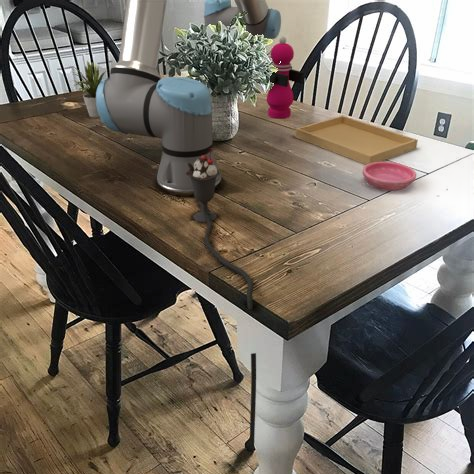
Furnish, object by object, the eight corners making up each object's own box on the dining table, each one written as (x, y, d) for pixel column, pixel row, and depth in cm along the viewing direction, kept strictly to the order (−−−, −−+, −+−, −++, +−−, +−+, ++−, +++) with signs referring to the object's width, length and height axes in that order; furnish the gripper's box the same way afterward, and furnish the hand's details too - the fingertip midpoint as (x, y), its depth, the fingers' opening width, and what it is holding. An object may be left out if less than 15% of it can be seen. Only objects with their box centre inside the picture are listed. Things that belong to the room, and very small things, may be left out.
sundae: (227, 216, 117) (226, 148, 108) (204, 227, 113) (201, 157, 104) (205, 207, 121) (203, 140, 112) (183, 217, 117) (178, 149, 108)
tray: (416, 148, 150) (418, 139, 149) (369, 165, 140) (370, 156, 139) (341, 123, 168) (342, 115, 166) (294, 137, 158) (295, 128, 156)
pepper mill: (284, 121, 146) (289, 40, 135) (261, 116, 149) (263, 37, 138) (296, 114, 151) (302, 35, 140) (274, 110, 154) (277, 33, 143)
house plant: (68, 110, 179) (59, 57, 169) (110, 105, 184) (103, 53, 174) (77, 123, 168) (68, 67, 159) (121, 117, 173) (115, 62, 164)
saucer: (401, 171, 137) (403, 159, 135) (423, 192, 127) (426, 179, 125) (353, 174, 135) (355, 162, 133) (372, 196, 125) (374, 183, 123)
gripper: (261, 72, 163) (318, 89, 148) (213, 82, 154) (268, 100, 139) (262, 45, 158) (320, 59, 143) (213, 53, 149) (269, 69, 134)
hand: (294, 79), depth 141 cm, fingers closed on pepper mill, 5 cm apart
